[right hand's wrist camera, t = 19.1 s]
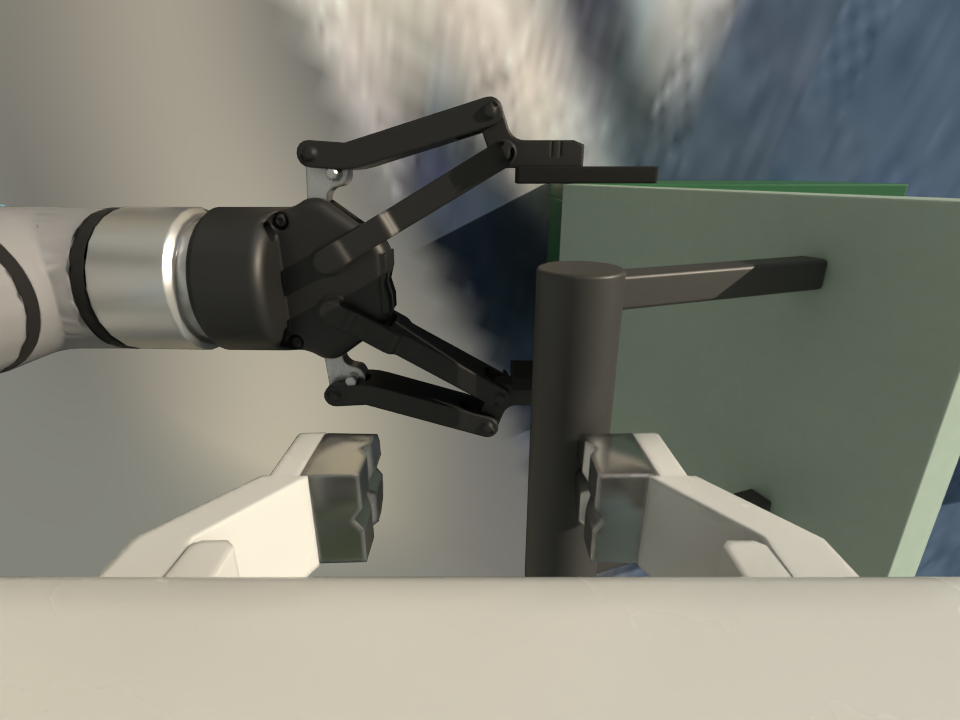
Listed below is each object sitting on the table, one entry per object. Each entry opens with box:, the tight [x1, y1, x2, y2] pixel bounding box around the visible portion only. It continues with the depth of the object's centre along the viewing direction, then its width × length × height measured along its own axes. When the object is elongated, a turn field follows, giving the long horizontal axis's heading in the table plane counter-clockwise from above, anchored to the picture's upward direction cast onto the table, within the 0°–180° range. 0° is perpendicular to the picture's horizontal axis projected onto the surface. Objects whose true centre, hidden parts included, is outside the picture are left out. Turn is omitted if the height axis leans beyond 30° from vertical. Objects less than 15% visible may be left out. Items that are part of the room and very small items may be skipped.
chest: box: [547, 181, 908, 263], centre depth 29 cm, size 15×10×10 cm
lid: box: [525, 184, 960, 577], centre depth 16 cm, size 15×10×8 cm
